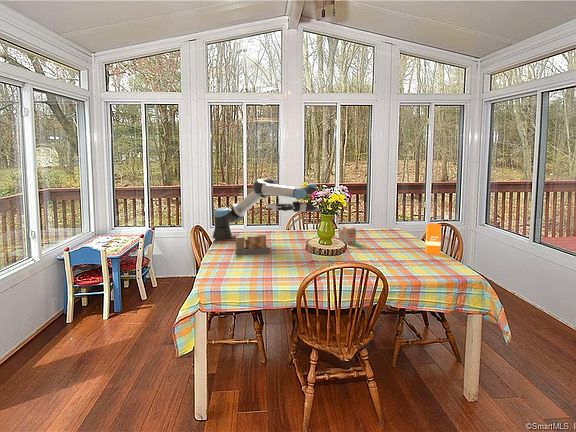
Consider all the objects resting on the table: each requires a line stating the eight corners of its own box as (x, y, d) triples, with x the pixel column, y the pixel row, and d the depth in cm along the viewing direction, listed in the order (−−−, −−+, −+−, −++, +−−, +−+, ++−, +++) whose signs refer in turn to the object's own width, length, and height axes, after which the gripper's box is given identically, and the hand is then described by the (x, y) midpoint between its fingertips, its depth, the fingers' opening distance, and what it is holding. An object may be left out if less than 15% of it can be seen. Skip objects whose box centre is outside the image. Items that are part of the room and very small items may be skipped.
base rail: (237, 255, 301) (237, 238, 299) (235, 252, 309) (234, 236, 308) (269, 252, 307) (269, 236, 305) (266, 249, 316) (266, 234, 314)
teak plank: (246, 251, 305) (246, 237, 303) (245, 250, 309) (245, 236, 307) (266, 250, 309) (266, 236, 307) (264, 249, 313) (264, 234, 311)
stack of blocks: (338, 239, 351) (338, 223, 349) (346, 239, 352) (346, 223, 350) (347, 245, 330) (347, 228, 328) (355, 244, 331) (356, 228, 329)
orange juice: (440, 254, 300) (441, 224, 297) (426, 254, 302) (427, 224, 299) (438, 251, 308) (440, 222, 305) (425, 251, 310) (426, 222, 307)
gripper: (304, 214, 311) (274, 215, 304) (293, 209, 334) (265, 210, 328) (304, 203, 309) (274, 204, 303) (293, 199, 333) (265, 200, 327)
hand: (269, 207), depth 316 cm, fingers open, 13 cm apart
